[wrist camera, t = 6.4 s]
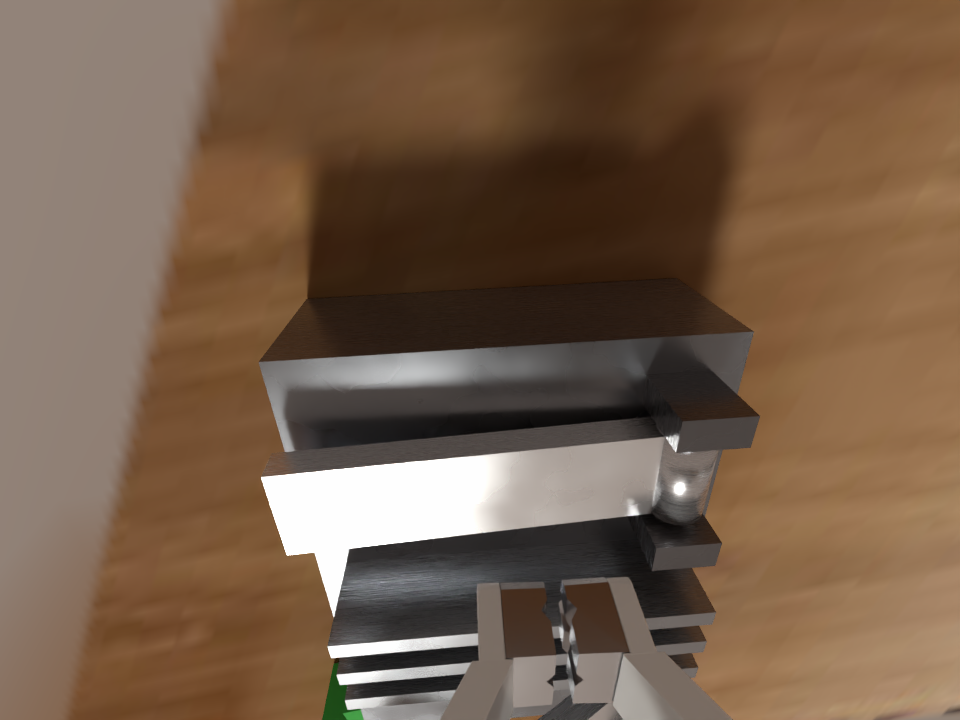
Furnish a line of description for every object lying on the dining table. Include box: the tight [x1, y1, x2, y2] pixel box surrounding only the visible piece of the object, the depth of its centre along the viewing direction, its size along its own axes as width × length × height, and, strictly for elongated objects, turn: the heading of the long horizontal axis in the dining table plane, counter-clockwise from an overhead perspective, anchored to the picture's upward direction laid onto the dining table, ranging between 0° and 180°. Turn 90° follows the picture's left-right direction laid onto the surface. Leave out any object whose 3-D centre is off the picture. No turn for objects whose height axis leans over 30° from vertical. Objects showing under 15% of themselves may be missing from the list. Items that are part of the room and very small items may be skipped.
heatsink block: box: [259, 278, 760, 720], centre depth 19 cm, size 14×20×8 cm
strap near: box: [261, 417, 719, 555], centre depth 14 cm, size 13×3×2 cm, turn 92°
